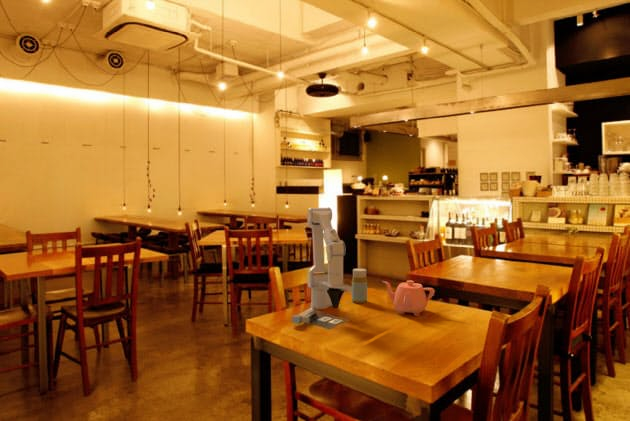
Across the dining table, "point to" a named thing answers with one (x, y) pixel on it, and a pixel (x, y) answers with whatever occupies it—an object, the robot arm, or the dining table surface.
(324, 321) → the label
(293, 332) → the dining table surface
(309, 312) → the swing arm
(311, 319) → the plate
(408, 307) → the teapot
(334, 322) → the label
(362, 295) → the bottle
